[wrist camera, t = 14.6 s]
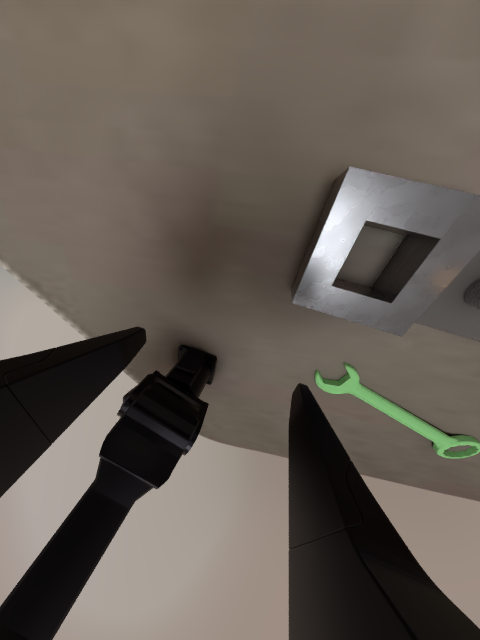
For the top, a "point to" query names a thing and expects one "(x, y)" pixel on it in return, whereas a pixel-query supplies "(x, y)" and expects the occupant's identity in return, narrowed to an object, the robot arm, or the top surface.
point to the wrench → (398, 414)
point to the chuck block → (407, 263)
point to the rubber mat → (456, 305)
